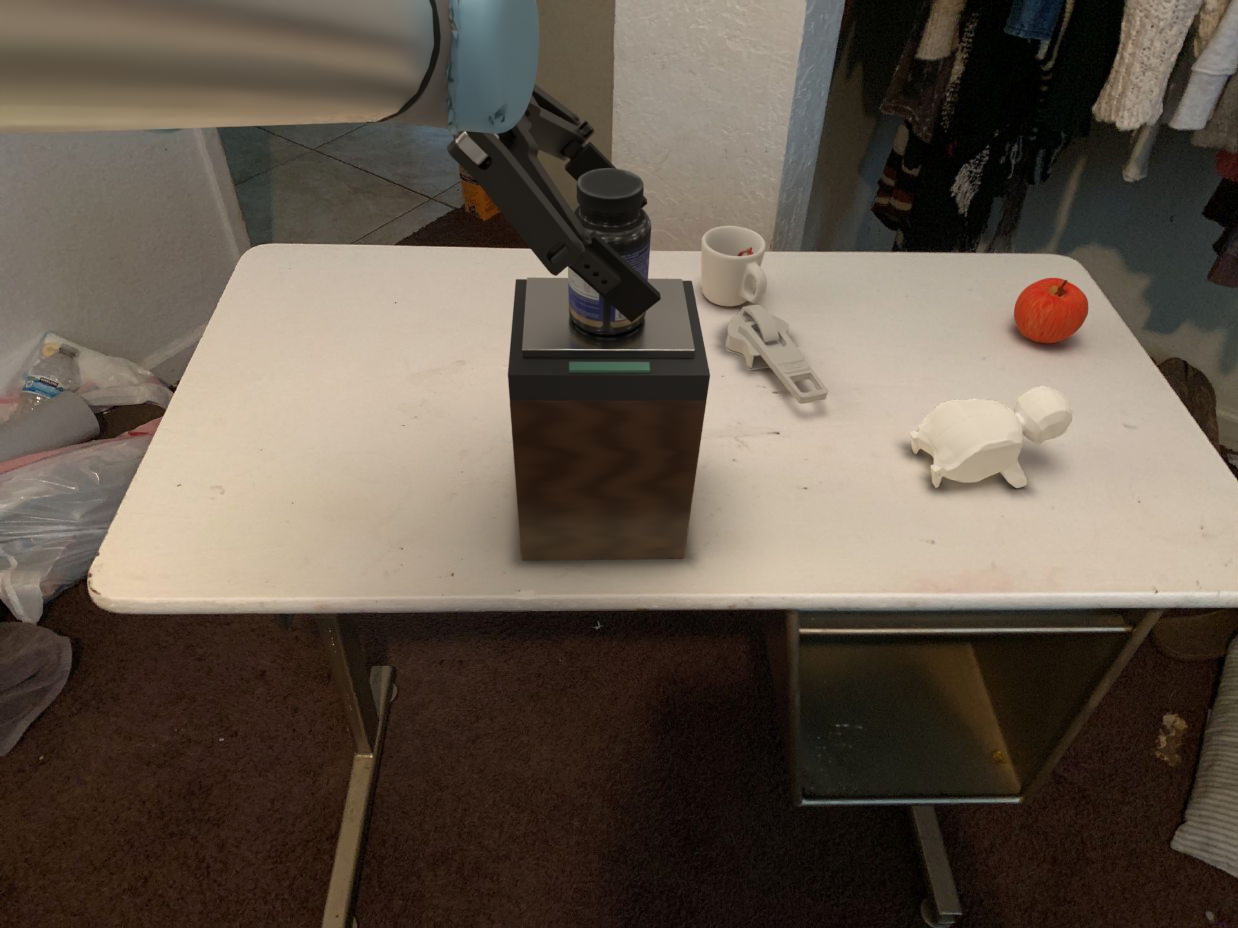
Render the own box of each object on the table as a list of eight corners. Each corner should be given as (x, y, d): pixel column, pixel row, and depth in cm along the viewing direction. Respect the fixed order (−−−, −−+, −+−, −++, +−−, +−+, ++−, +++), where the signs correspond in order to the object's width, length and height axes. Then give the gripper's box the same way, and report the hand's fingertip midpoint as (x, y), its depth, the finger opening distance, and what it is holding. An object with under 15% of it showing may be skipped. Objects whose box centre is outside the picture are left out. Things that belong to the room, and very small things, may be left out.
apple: (1061, 319, 108) (1088, 264, 102) (1079, 356, 102) (1109, 301, 96) (998, 313, 108) (1022, 259, 102) (1013, 350, 102) (1039, 295, 97)
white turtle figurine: (943, 516, 86) (1087, 465, 84) (938, 464, 80) (1093, 408, 78) (908, 459, 92) (1043, 410, 90) (901, 407, 86) (1045, 354, 84)
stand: (521, 560, 76) (509, 400, 63) (526, 461, 85) (517, 304, 72) (684, 558, 77) (706, 400, 64) (671, 460, 86) (689, 305, 73)
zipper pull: (777, 423, 91) (784, 393, 88) (713, 330, 103) (717, 301, 100) (841, 410, 93) (850, 380, 90) (770, 320, 105) (776, 291, 102)
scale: (509, 400, 63) (507, 366, 61) (517, 304, 72) (515, 270, 70) (706, 400, 64) (711, 366, 61) (689, 305, 73) (692, 272, 71)
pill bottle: (642, 293, 68) (651, 163, 60) (649, 338, 64) (659, 203, 56) (566, 294, 68) (565, 162, 60) (568, 338, 63) (567, 203, 55)
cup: (782, 314, 106) (793, 259, 101) (731, 331, 103) (740, 275, 97) (732, 274, 113) (741, 219, 107) (683, 288, 110) (689, 233, 104)
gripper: (399, 16, 61) (599, 208, 73) (330, 167, 43) (608, 390, 55) (465, -65, 58) (664, 150, 69) (419, 62, 40) (697, 323, 51)
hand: (640, 256), depth 62 cm, fingers open, 13 cm apart
